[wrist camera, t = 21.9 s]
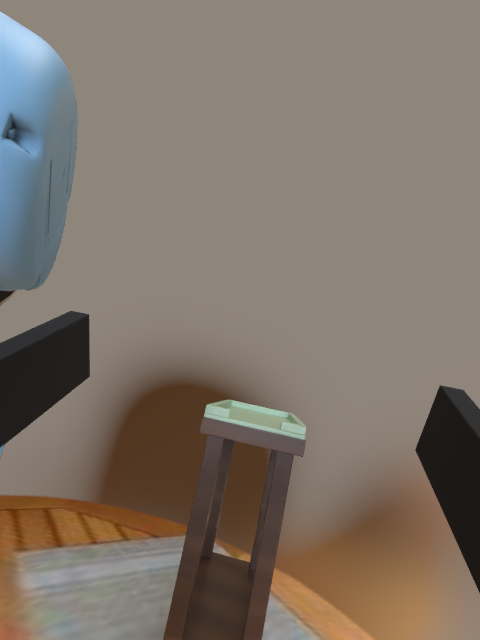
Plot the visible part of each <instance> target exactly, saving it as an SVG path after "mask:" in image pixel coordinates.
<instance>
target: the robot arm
mask: <svg viewBox="0 0 480 640" xmlns="http://www.w3.org/2000/svg"><path fill="white" fill-rule="evenodd" d="M76 144H77V103H76V99H75V92H74V87H73V84H72V81H71V77H70V75H69V72H68V70H67V69H66V67H65V65H64V63H63V62H62V60H61V58H60V57H59V56H58V54H57V53H56V52H55V51H54V49H53V48H52V47H51V46H50V45H49V44H47V43H46V42H45V41H44V40H43V39H42V38H40V37H39V36H38V35H36V34H34V33H33V32H31V31H30V30H28V29H27V28H25V27H24V26H22V25H20V24H19V23H17V22H16V21H14V20H13V19H11V18H9V17H8V16H6V15H5V14H3V13H1V12H0V306H1V305H2V304H3V303H4V302H6V301H7V300H8V299H10V297H11V296H12V295H13V294H14V293H15V292H16V291H17V289H19V290H21V289H22V290H23V289H24V290H32V289H36V288H38V287H40V286H41V285H42V284H43V283H44V282H45V280H46V279H47V277H48V275H49V273H50V271H51V269H52V267H53V264H54V262H55V259H56V255H57V251H58V248H59V245H60V242H61V238H62V234H63V230H64V225H65V218H66V213H67V203H68V201H69V198H70V194H71V188H72V181H73V174H74V166H75V156H76ZM89 367H90V360H89V314H84V313H79V312H74V311H70V312H68V313H65V314H63V315H61V316H59V317H57V318H54V319H52V320H50V321H48V322H46V323H44V324H41V325H39V326H37V327H35V328H32V329H30V330H28V331H26V332H24V333H22V334H19V335H17V336H15V337H13V338H10V339H8V340H6V341H4V342H2V343H0V458H1V454H2V451H3V448H4V445H5V444H6V443H7V442H8V441H9V440H11V439H12V438H13V437H14V436H16V435H17V434H18V433H19V432H21V431H22V430H23V429H24V428H26V427H27V426H28V425H29V424H31V423H32V422H33V421H34V420H36V419H37V418H38V417H39V416H41V415H42V414H43V413H44V412H46V411H47V410H48V409H49V408H51V407H52V406H53V405H54V404H56V403H57V402H58V401H59V400H61V399H62V398H63V397H64V396H66V395H67V394H68V393H70V392H71V391H72V390H73V389H74V388H75V387H77V386H78V385H80V384H81V383H82V382H83V381H85V380H86V379H87V378H88V377H89V376H90V368H89ZM416 452H417V454H418V457H419V459H420V461H421V463H422V466H423V468H424V470H425V472H426V474H427V477H428V479H429V481H430V483H431V486H432V488H433V490H434V492H435V495H436V497H437V499H438V501H439V503H440V506H441V508H442V510H443V512H444V515H445V517H446V519H447V521H448V523H449V526H450V528H451V530H452V532H453V535H454V537H455V539H456V541H457V543H458V546H459V548H460V550H461V552H462V555H463V557H464V559H465V561H466V563H467V566H468V568H469V570H470V572H471V575H472V577H473V579H474V581H475V583H476V585H477V588H478V590H479V592H480V409H479V408H478V407H477V406H476V405H475V403H474V402H473V401H472V400H471V399H470V397H469V396H468V395H467V394H466V393H465V392H464V391H463V390H460V389H455V388H450V387H445V386H440V387H439V389H438V392H437V395H436V397H435V400H434V402H433V405H432V408H431V410H430V413H429V415H428V418H427V421H426V423H425V426H424V428H423V431H422V434H421V436H420V439H419V442H418V444H417V447H416Z"/></svg>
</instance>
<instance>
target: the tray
mask: <svg viewBox="0 0 480 640" xmlns="http://www.w3.org/2000/svg"><path fill="white" fill-rule="evenodd" d="M204 417H207V418H211V419H215V420H220V421H224V422H228V423H233V424H237V425H241V426H246V427H250V428H254V429H259V430H263V431H267V432H272V433H276V434H280V435H285V436H289V437H293V438H298V439H302V440H305V434H306V429H307V428H306V426H305V425H304V424H303V423H302V422H301V421H300V420H299V419H298V418H297V417H296V416H295V415H294V414H291V413H287V412H282V411H278V410H273V409H269V408H264V407H260V406H255V405H250V404H246V403H242V402H237V401H233V400H225V401H221V402H216V403H213V404H208V405H207V406H206V410H205V415H204Z"/></svg>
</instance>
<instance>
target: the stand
mask: <svg viewBox="0 0 480 640" xmlns="http://www.w3.org/2000/svg"><path fill="white" fill-rule="evenodd" d="M200 433H204V434H208V438H207V442H206V447H205V452H204V456H203V461H202V465H201V470H200V475H199V479H198V484H197V489H196V493H195V497H194V502H193V507H192V511H191V516H190V521H189V525H188V529H187V534H186V538H185V543H184V548H183V552H182V557H181V561H180V566H179V570H178V575H177V580H176V584H175V589H174V593H173V598H172V602H171V607H170V612H169V616H168V621H167V625H166V630H165V634H164V639H163V640H262V634H263V628H264V622H265V617H266V611H267V605H268V599H269V594H270V588H271V582H272V577H273V571H274V564H275V559H276V554H277V547H278V542H279V536H280V531H281V525H282V519H283V513H284V508H285V502H286V496H287V490H288V485H289V479H290V473H291V467H292V462H293V456H294V455H297V456H301V457H303V454H304V448H305V440H302V439H298V438H293V437H289V436H285V435H280V434H276V433H272V432H267V431H263V430H259V429H254V428H250V427H246V426H241V425H237V424H233V423H228V422H224V421H220V420H215V419H211V418H207V417H203V418H202V423H201V427H200ZM235 441H237V442H242V443H246V444H251V445H254V446H258V447H263V448H267V449H271V453H270V458H269V464H268V470H267V474H266V480H265V486H264V490H263V496H262V501H261V507H260V512H259V517H258V523H257V529H256V533H255V539H254V544H253V550H252V555H251V560H250V563H249V562H246V561H242V560H239V559H235V558H231V557H228V556H224V555H221V554H217V553H213V547H214V542H215V537H216V532H217V527H218V523H219V518H220V513H221V508H222V503H223V498H224V493H225V488H226V483H227V479H228V473H229V469H230V464H231V459H232V454H233V449H234V444H235Z"/></svg>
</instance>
